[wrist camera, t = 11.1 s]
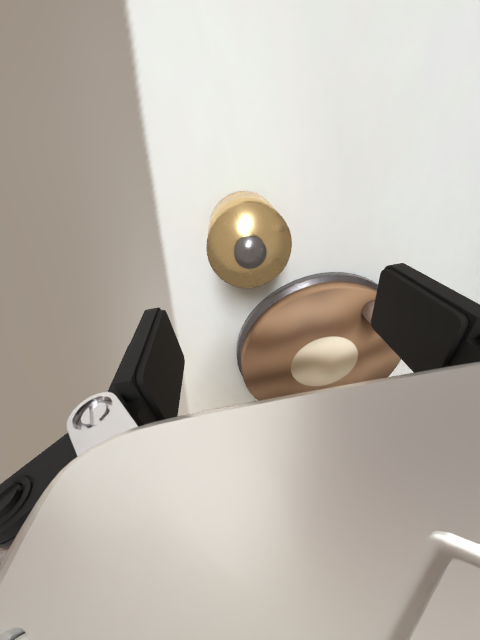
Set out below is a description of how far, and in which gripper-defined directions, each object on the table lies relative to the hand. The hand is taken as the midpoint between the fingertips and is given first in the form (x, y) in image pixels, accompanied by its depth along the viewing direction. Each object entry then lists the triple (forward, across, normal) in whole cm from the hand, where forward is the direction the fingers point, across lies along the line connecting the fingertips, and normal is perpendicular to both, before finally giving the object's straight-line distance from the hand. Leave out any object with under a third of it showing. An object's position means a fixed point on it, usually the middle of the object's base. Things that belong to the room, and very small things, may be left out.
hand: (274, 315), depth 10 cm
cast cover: (+17, 0, 0) cm, 17 cm away
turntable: (+15, -8, +18) cm, 25 cm away
